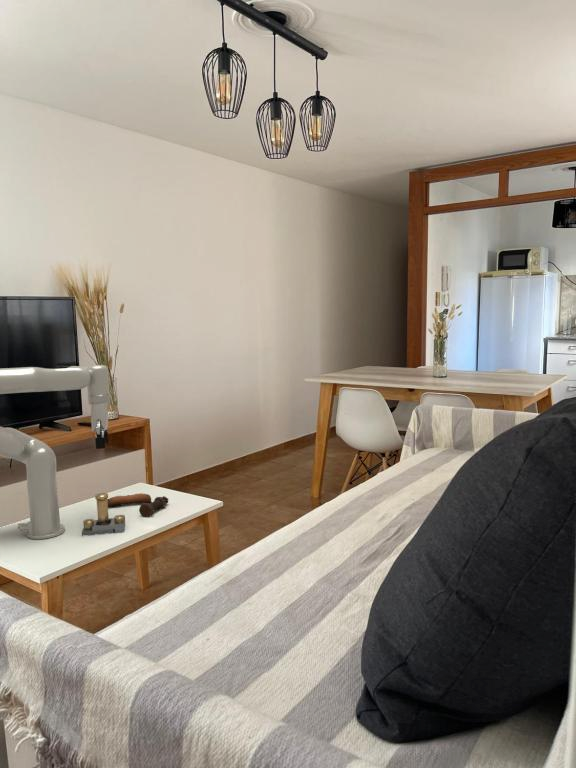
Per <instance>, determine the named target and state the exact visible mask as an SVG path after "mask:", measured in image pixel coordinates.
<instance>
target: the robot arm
mask: <svg viewBox="0 0 576 768" xmlns="http://www.w3.org/2000/svg"><path fill="white" fill-rule="evenodd" d="M85 388H86V390H87V400H88V401H87V402H88V405H90V406H91V407H90V420H91V421H90V422H91V431H92V432H93V433H94V432H95V433H94V434H95V437H94V441H95V449H96V450H101V449H105V448H106V444H108V443H109V432H108V428H109V414H108V413H109V412H108V404H110V403H111V396H110V381H109V368H108V366H106V365H105V364H96V365H89V366H83V365H81V366H80V365H78V366H77V365H70V366H68V367H66V368H45V367H38V366H26V367H25V366H23V367H22V366H21V367H9V368H8V367H6V368H2V367H1V368H0V395H5V394H19V393H20V394H21V393H37V392H38V393H41V392H42V393H43V392H56V391H57V392H61V391H75V390H83V389H85ZM0 457H2V458H4V459H13V460H16V461H18V462H20V463H23V464H25V468H26V485H27V486H26V487H27V498H28V508H29V509H28V510H29V520H30V521H27V522H26V523H25V522H22V523H20V522H19V523H18V524H17V529H18V530H19V531H26V537H27V538H29V539H31V540H45V539H50V538H53V537H57V536H59V535H61V534H63V533H64V532H65V531H66V527H65V525H64V524H62V523H61V520H60V518H61V517H60V507H59V495H58V493H59V492H58V482H57V479H58V478H57V457H56V453H55V452H54V450H53V449H52V448H51V447H50V446H49V445H48V444H47V443H45V442H44V441H41V440H40V439H37V438H35V437H33V436H31V435H29V434H27V433H24V432H22V431H20V430H17V429H16V428H13V427H3V426H1V425H0Z"/></svg>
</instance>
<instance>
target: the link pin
mask: <svg viewBox="0 0 576 768" xmlns="http://www.w3.org/2000/svg"><path fill="white" fill-rule="evenodd" d="M94 498H95V500H96V511H97V512H96V513H97V520H98V525H105V524H109V517H110V516H109V508H108V503H107V499H109V493H107V492H101V493H97V494H95V495H94Z"/></svg>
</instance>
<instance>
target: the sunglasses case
mask: <svg viewBox="0 0 576 768" xmlns="http://www.w3.org/2000/svg"><path fill="white" fill-rule="evenodd" d="M152 502H153V501H152V497H151V495H150V494H148V493H143V492H141V493H134V494H127V495H116V496H115V495H114V496H111V497H110V498H109V497H108V498H107V503H108V509H110V508H113V507H117V506H126V505H129V506H130V505H138V504H143V503H152Z"/></svg>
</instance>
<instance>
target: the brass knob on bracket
mask: <svg viewBox="0 0 576 768" xmlns="http://www.w3.org/2000/svg"><path fill="white" fill-rule="evenodd" d="M82 523H83V528H82V530H81V536H82V537H84V536H83V535H88V536H96V535H95V534H98V535H106V534H105V533H109V534H114V533H116V534H118V533H117V532H119V533H124V532H125V528H126V516H125V515H124V514H118V515H115V516H114V517H110V518H109V524H105V525H98V519H93V518H89V519H85V520H83V521H82Z"/></svg>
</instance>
